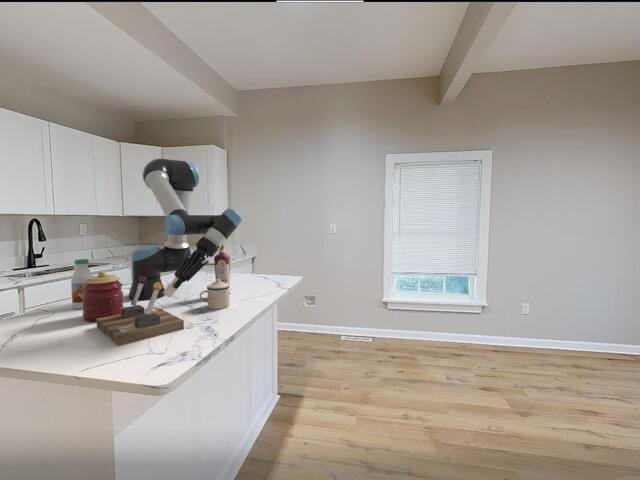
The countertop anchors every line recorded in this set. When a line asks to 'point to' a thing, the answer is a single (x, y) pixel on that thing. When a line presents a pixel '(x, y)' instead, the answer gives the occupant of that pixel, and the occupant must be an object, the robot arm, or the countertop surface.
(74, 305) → the milk bottle
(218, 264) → the liquor
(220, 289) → the teacup with lid
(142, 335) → the brown wooden base
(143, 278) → the rear lever
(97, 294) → the canister
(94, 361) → the countertop surface
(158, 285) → the front lever
